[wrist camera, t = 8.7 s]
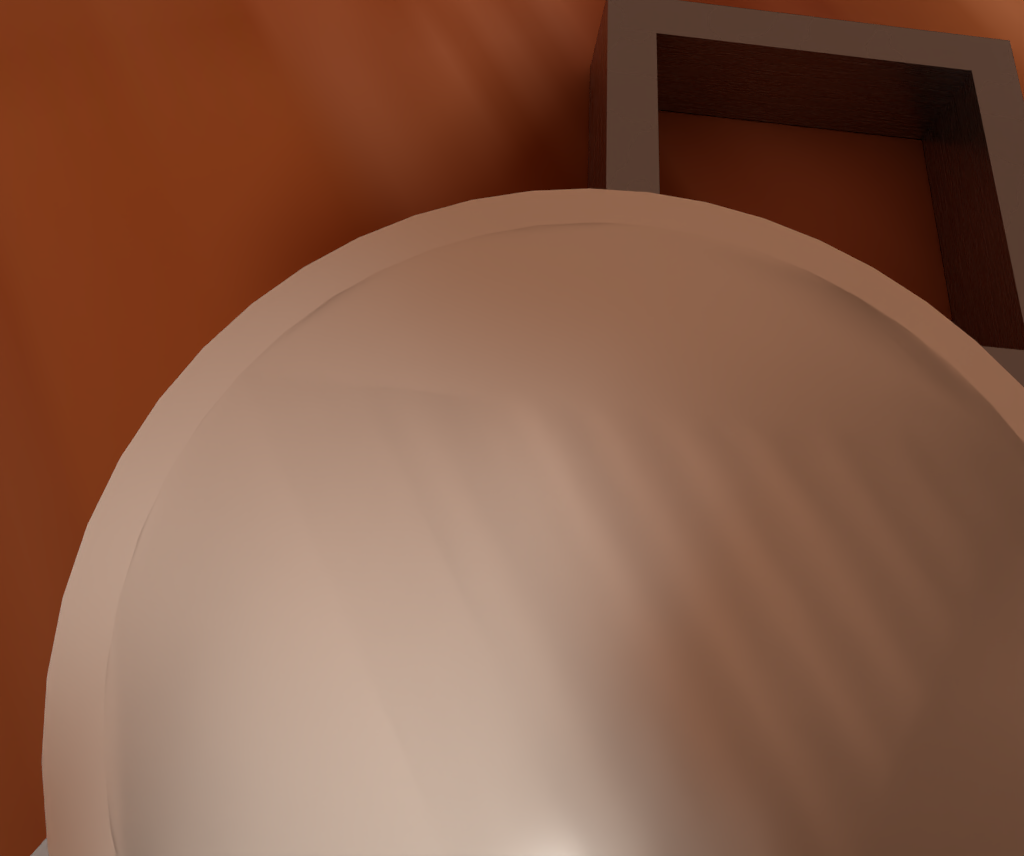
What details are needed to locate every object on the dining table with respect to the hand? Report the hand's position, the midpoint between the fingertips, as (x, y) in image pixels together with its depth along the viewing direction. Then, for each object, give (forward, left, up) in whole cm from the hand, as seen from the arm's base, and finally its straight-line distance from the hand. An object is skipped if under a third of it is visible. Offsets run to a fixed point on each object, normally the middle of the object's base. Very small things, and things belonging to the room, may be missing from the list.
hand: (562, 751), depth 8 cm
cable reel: (0, 0, -10) cm, 10 cm away
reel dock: (+15, +2, -10) cm, 18 cm away
